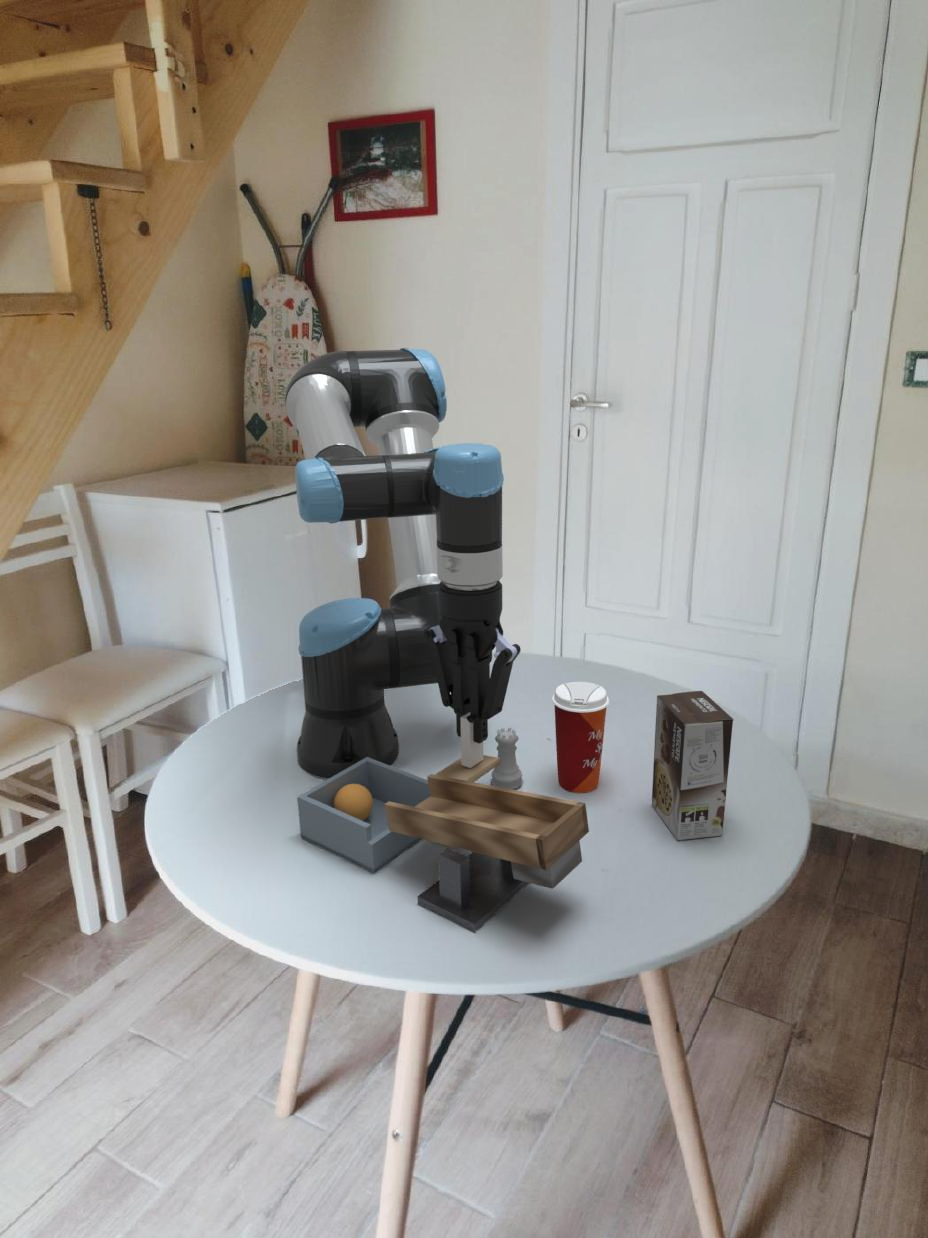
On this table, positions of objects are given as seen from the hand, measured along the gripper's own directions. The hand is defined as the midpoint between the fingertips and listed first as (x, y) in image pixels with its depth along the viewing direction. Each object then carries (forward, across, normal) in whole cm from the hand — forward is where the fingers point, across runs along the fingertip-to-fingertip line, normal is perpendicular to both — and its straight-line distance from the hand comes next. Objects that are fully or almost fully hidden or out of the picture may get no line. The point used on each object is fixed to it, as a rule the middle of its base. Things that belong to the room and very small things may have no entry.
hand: (472, 762), depth 109 cm
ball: (+6, -13, -8) cm, 17 cm away
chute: (+5, +9, -5) cm, 11 cm away
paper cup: (+10, +5, +18) cm, 21 cm away
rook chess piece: (+10, -3, +12) cm, 15 cm away
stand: (+10, +8, -8) cm, 15 cm away
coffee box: (+10, +21, +18) cm, 29 cm away
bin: (+10, -10, -8) cm, 16 cm away
